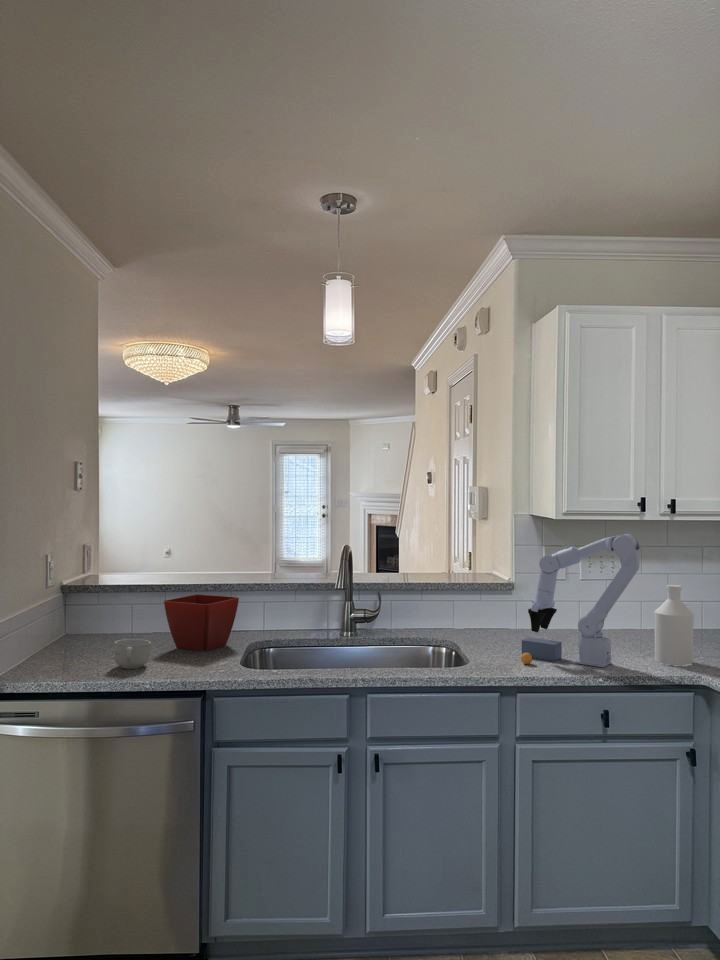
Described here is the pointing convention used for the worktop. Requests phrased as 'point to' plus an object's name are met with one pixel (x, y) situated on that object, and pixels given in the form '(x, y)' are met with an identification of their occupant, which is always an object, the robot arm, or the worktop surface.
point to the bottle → (673, 630)
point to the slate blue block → (542, 648)
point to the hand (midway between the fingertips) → (539, 630)
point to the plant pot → (201, 620)
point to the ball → (526, 658)
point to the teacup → (131, 653)
